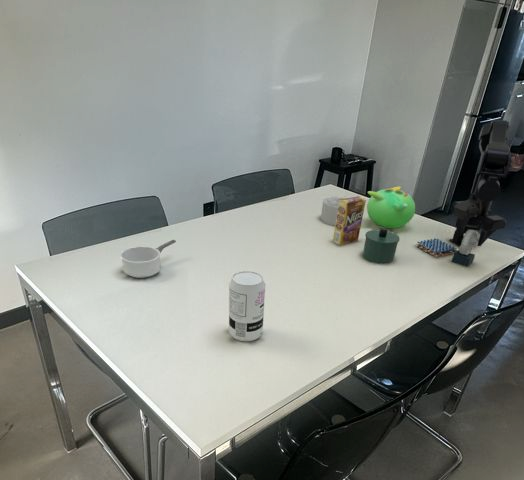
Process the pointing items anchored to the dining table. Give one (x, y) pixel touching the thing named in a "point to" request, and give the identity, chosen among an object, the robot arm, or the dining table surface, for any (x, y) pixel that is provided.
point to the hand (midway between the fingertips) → (468, 240)
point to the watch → (466, 249)
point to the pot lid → (382, 236)
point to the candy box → (349, 220)
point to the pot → (379, 252)
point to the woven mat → (436, 247)
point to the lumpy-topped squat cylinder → (330, 210)
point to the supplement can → (246, 305)
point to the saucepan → (142, 260)
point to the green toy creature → (390, 207)
